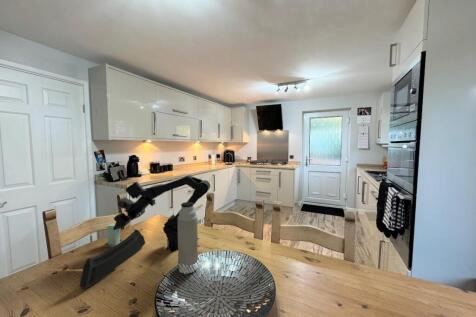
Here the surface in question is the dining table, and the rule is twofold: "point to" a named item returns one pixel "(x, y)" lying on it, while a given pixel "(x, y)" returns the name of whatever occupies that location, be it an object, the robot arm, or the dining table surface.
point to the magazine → (110, 259)
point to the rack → (109, 245)
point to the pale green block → (113, 235)
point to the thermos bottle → (187, 235)
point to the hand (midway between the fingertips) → (119, 225)
